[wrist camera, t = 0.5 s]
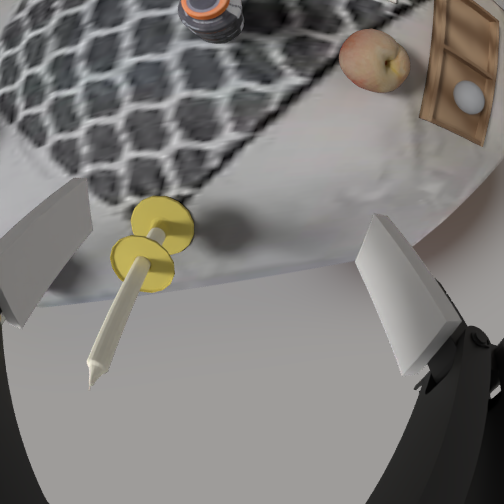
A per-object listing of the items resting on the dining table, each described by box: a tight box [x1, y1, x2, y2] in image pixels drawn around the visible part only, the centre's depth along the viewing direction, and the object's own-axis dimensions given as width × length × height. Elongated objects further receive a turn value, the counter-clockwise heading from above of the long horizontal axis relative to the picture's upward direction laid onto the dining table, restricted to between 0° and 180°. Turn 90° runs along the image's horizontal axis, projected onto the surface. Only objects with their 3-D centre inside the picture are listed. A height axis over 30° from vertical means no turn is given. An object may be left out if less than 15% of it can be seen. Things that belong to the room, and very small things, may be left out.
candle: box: [87, 196, 194, 390], centre depth 29 cm, size 10×10×27 cm
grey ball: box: [453, 81, 485, 114], centre depth 25 cm, size 5×5×5 cm
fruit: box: [339, 29, 410, 93], centre depth 24 cm, size 8×8×8 cm
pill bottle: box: [178, 0, 244, 44], centre depth 20 cm, size 6×6×11 cm
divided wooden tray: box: [419, 0, 499, 147], centre depth 23 cm, size 24×12×2 cm, turn 173°
